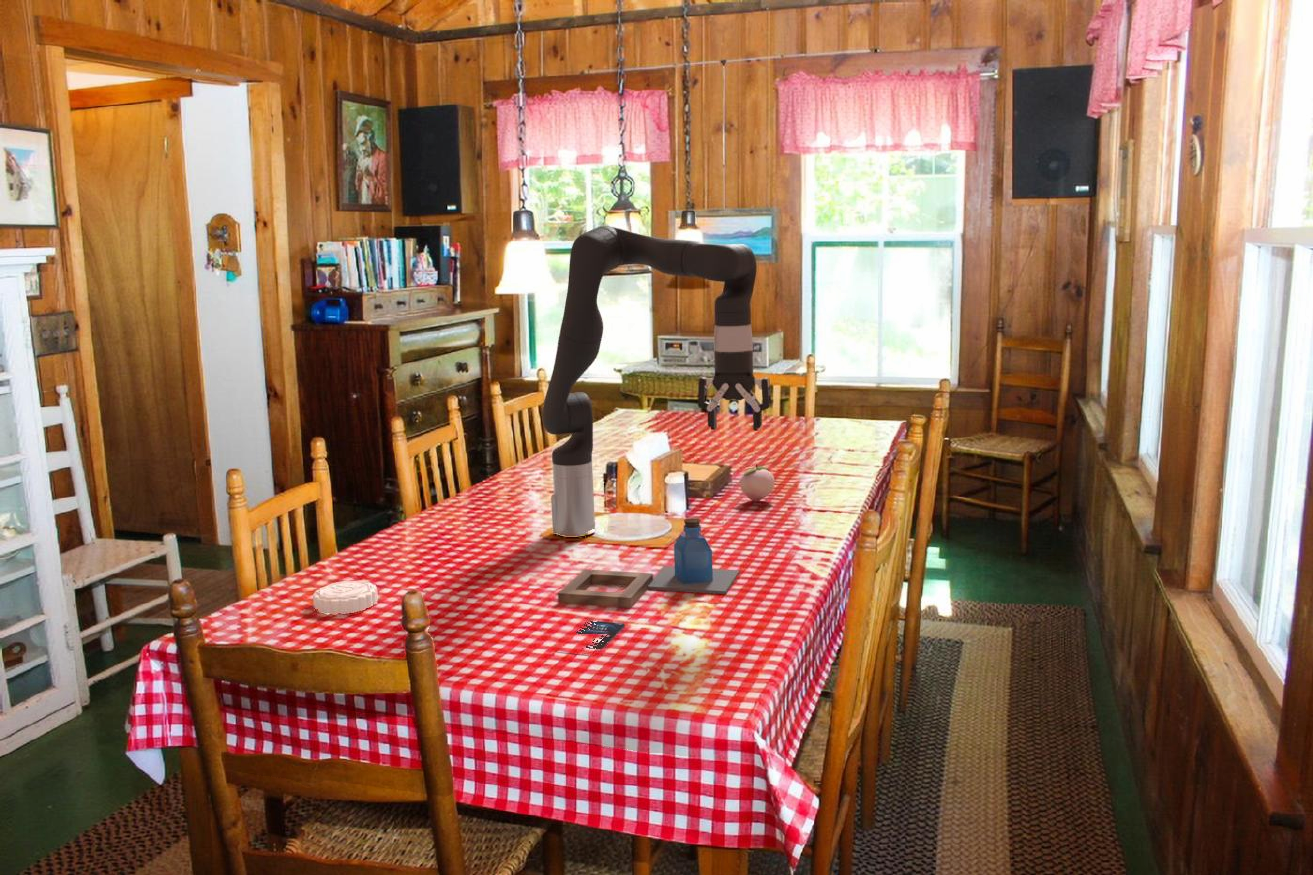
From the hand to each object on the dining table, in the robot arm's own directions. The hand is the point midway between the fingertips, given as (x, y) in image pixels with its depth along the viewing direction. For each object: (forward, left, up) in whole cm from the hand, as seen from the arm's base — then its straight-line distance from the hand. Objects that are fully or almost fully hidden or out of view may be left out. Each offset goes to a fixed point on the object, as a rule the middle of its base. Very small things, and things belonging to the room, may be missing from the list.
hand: (735, 429), depth 211 cm
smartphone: (-18, -38, -31) cm, 52 cm away
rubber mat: (-8, -5, -30) cm, 32 cm away
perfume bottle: (-8, -5, -30) cm, 31 cm away
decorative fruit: (-7, +59, -30) cm, 67 cm away
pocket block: (-23, -15, -30) cm, 41 cm away
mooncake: (-71, -31, -31) cm, 83 cm away
